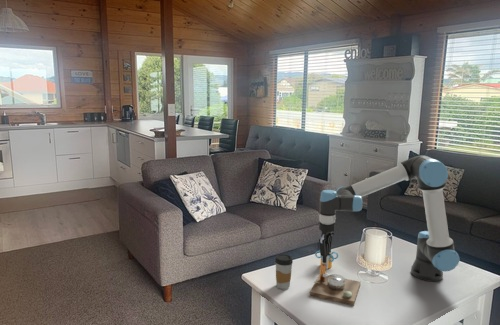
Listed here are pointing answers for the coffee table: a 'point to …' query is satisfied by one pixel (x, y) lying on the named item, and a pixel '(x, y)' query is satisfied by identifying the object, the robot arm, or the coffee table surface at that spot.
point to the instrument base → (336, 291)
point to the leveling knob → (332, 279)
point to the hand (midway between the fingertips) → (324, 267)
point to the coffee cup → (283, 271)
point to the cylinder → (329, 258)
